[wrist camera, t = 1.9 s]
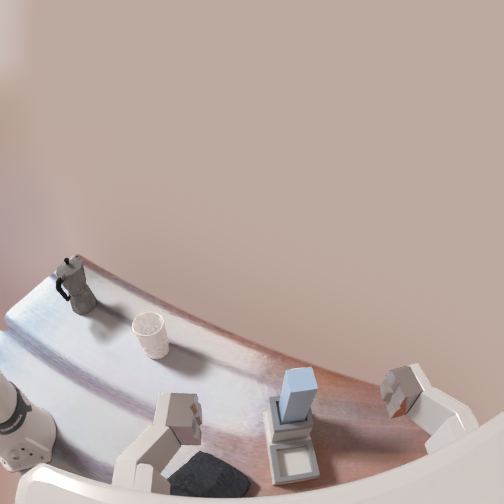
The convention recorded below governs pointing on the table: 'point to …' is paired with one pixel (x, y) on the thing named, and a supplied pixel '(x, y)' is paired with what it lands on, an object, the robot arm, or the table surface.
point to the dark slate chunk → (208, 479)
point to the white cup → (151, 334)
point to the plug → (297, 395)
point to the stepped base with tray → (289, 447)
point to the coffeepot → (75, 285)
